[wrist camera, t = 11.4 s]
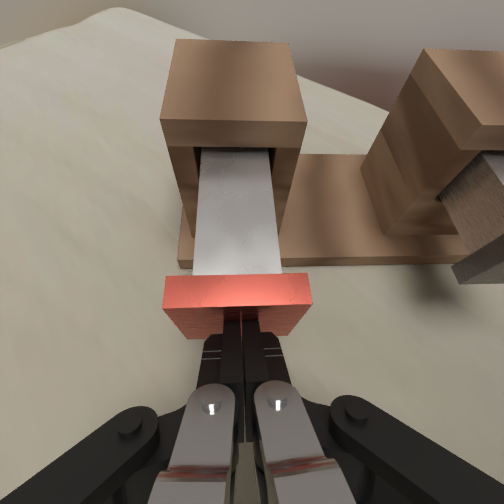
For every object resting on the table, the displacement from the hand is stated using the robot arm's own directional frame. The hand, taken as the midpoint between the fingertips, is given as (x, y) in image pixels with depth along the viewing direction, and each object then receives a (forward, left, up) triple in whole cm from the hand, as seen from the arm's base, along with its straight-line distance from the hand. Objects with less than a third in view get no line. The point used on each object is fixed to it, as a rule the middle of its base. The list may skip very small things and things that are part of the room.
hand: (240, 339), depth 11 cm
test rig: (-8, -13, -8) cm, 17 cm away
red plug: (0, -8, -2) cm, 8 cm away
